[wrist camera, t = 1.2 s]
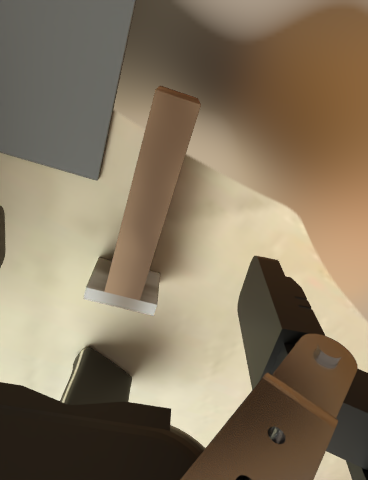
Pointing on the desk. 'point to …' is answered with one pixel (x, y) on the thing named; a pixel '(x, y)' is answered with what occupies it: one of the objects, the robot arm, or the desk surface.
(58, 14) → the mat
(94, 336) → the desk surface
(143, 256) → the stick
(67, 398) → the battery charger
